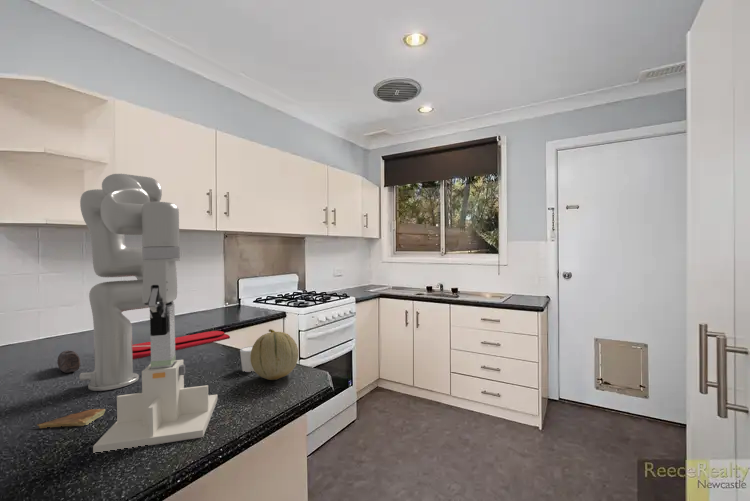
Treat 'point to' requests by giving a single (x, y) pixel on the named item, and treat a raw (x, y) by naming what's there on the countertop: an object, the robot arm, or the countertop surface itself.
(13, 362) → the countertop surface
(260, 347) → the cantaloupe
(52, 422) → the shard
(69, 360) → the perforated stone tool
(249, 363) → the shot glass
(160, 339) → the steel post
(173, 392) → the cream stand
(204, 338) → the dish drying mat
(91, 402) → the countertop surface
